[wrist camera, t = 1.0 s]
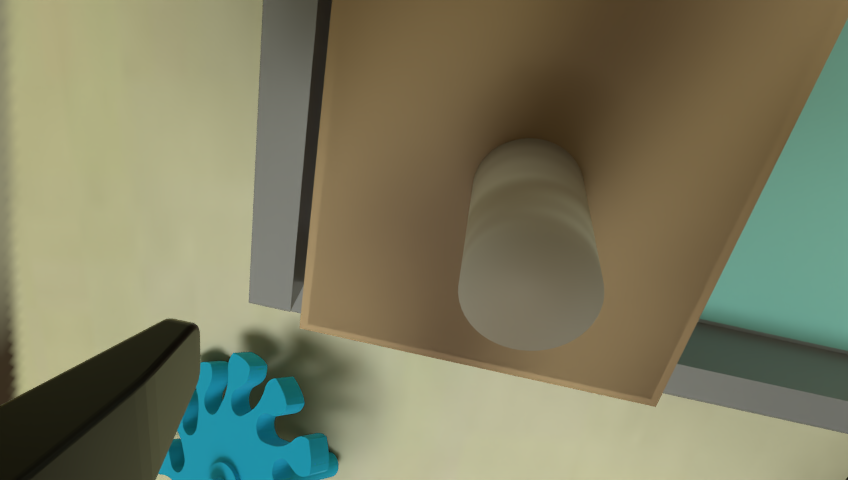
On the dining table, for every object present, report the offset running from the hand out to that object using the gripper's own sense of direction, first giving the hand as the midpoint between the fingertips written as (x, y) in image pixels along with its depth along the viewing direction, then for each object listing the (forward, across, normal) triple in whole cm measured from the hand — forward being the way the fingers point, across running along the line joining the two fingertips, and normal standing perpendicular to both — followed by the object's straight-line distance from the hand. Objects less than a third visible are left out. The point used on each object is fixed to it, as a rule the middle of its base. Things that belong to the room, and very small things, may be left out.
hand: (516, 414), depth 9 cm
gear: (+13, +8, +16) cm, 22 cm away
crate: (+12, 0, 0) cm, 12 cm away
